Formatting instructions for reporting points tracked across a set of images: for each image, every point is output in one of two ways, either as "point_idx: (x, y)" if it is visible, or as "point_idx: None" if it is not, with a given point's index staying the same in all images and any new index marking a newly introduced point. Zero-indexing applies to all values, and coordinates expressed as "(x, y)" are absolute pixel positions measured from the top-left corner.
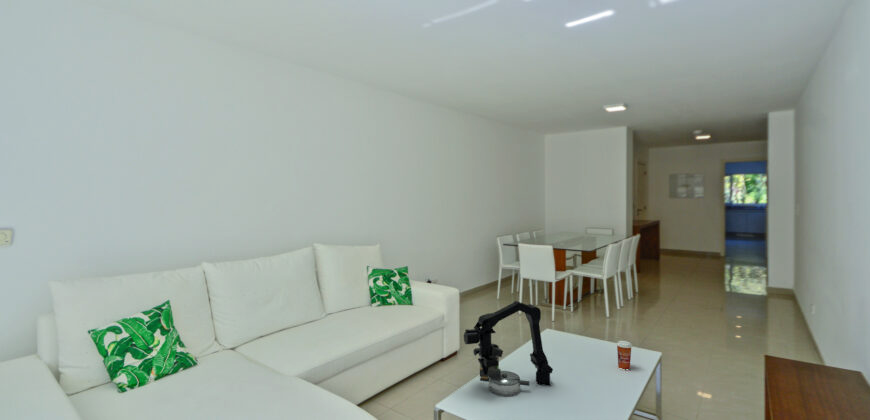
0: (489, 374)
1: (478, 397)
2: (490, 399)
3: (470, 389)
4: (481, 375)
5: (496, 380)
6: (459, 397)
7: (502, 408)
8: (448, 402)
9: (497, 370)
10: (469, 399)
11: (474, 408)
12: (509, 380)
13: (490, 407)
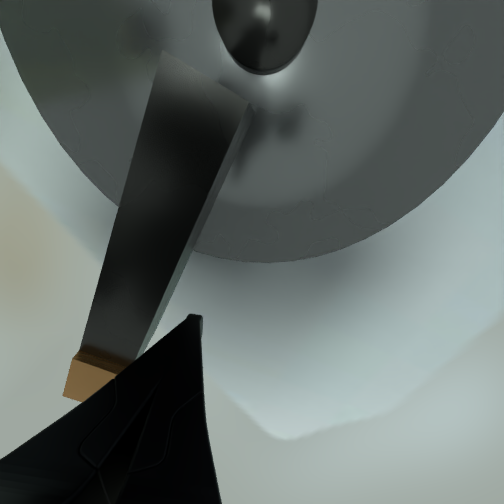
0: (183, 266)
1: (292, 318)
2: (353, 271)
3: (181, 313)
4: (156, 325)
5: (314, 222)
6: (249, 385)
7: (499, 263)
8: (273, 428)
9: (218, 176)
10: (290, 361)
11: (384, 377)
12: (433, 9)
13: (432, 315)
